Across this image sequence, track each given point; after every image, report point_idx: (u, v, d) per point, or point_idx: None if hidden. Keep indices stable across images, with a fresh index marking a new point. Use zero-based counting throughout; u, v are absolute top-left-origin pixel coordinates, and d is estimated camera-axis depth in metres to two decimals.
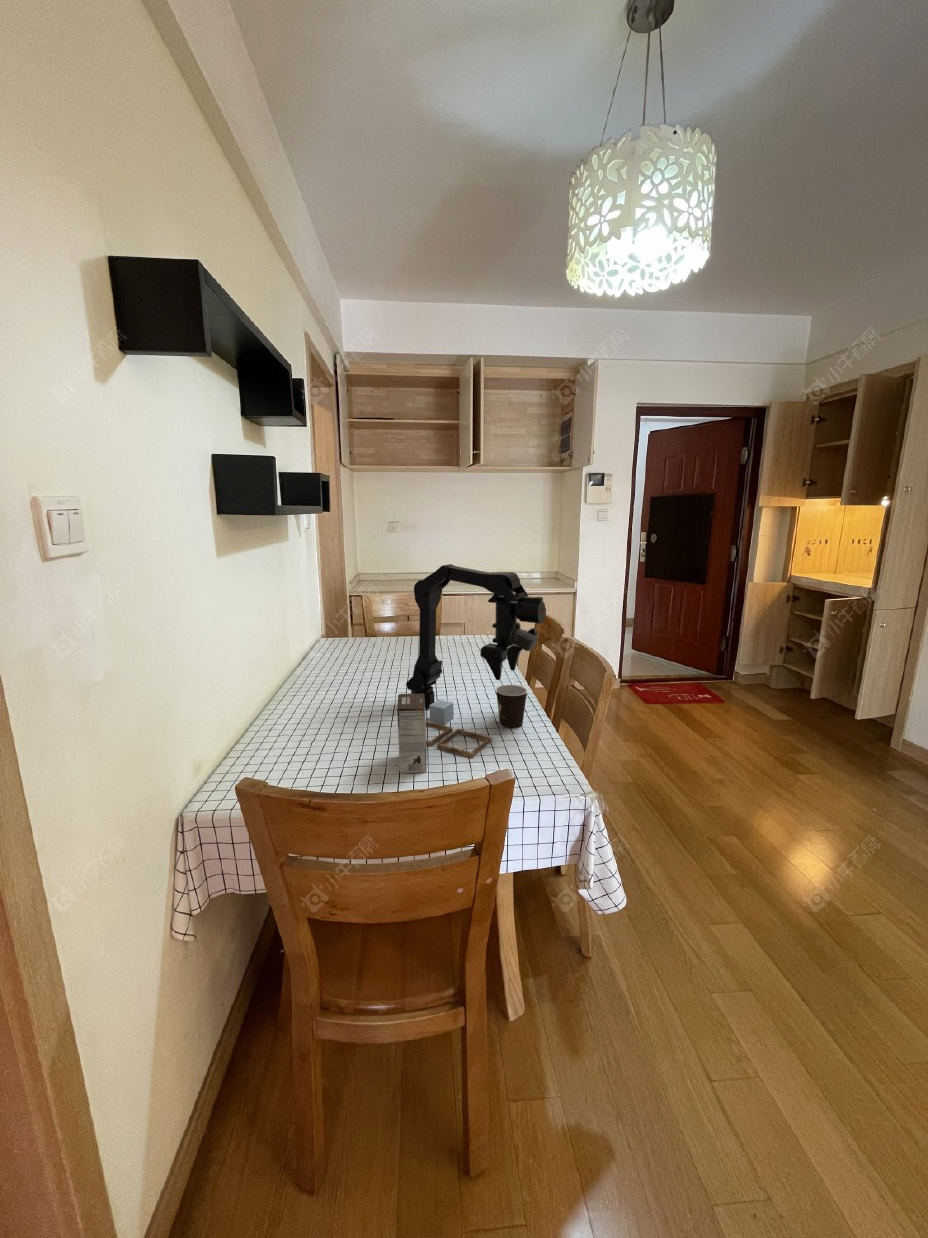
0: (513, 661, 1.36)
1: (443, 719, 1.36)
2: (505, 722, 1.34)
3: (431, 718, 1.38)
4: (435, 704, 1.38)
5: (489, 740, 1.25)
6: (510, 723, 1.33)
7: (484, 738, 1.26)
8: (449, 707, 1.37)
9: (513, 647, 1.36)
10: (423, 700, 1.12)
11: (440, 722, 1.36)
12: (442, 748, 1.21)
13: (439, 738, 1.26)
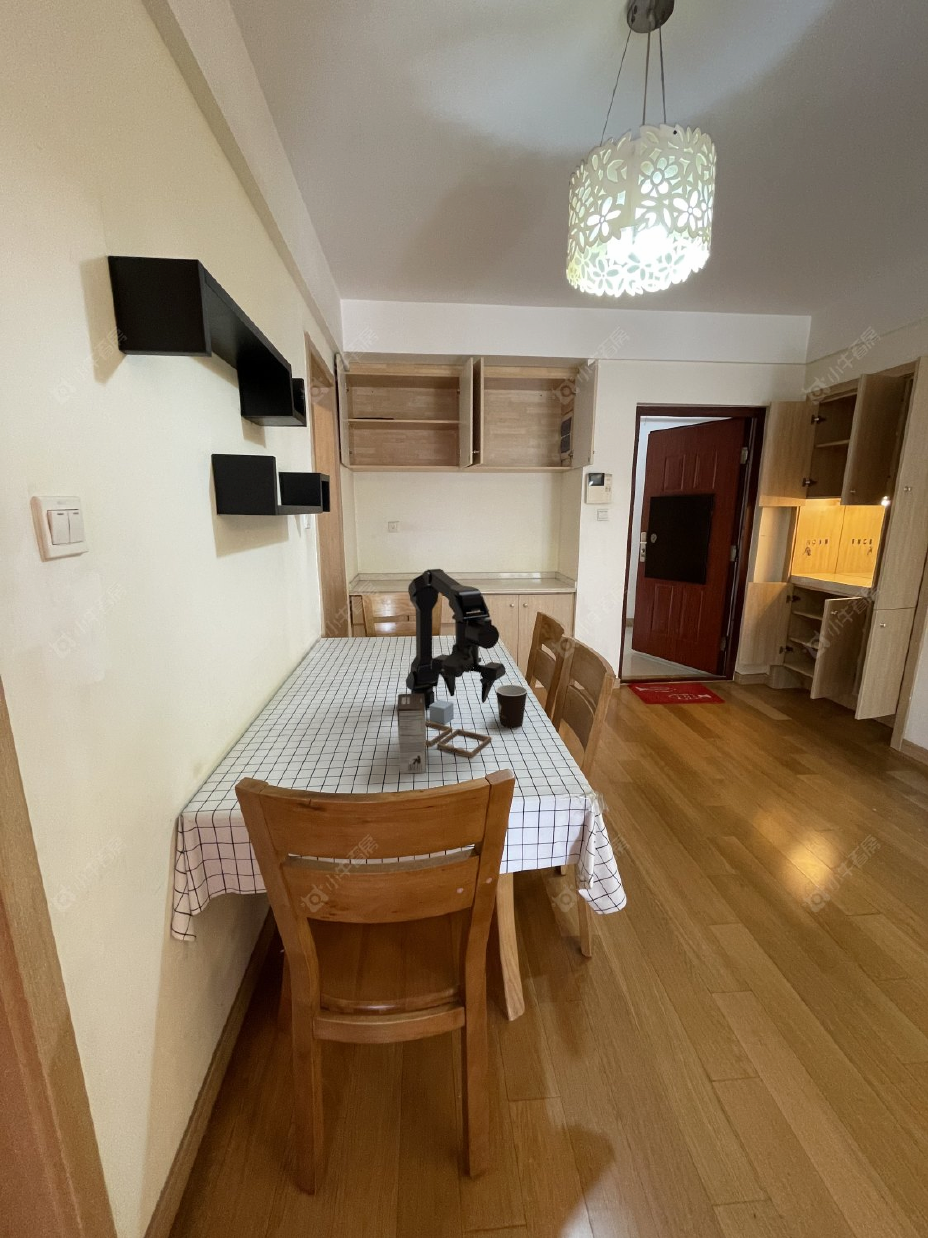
0: None
1: (443, 719, 1.36)
2: (505, 722, 1.34)
3: (431, 718, 1.38)
4: (435, 704, 1.38)
5: (489, 740, 1.25)
6: (510, 723, 1.33)
7: (484, 738, 1.26)
8: (449, 707, 1.37)
9: None
10: (423, 700, 1.12)
11: (440, 722, 1.36)
12: (442, 748, 1.21)
13: (439, 738, 1.26)
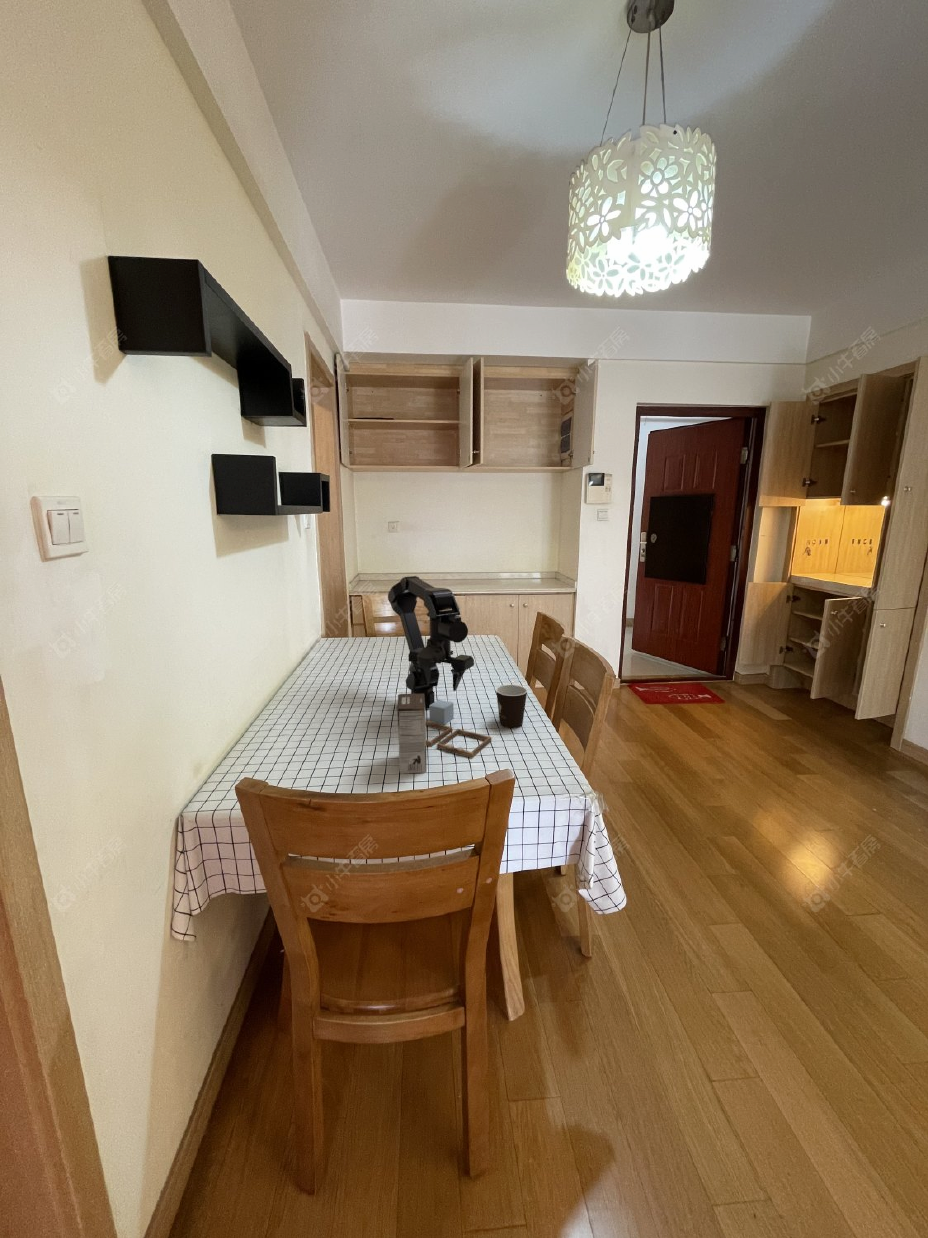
0: None
1: (443, 719, 1.36)
2: (505, 722, 1.34)
3: (431, 718, 1.38)
4: (435, 704, 1.38)
5: (489, 740, 1.25)
6: (510, 723, 1.33)
7: (484, 738, 1.26)
8: (449, 707, 1.37)
9: None
10: (423, 700, 1.12)
11: (440, 722, 1.36)
12: (442, 748, 1.21)
13: (439, 738, 1.26)
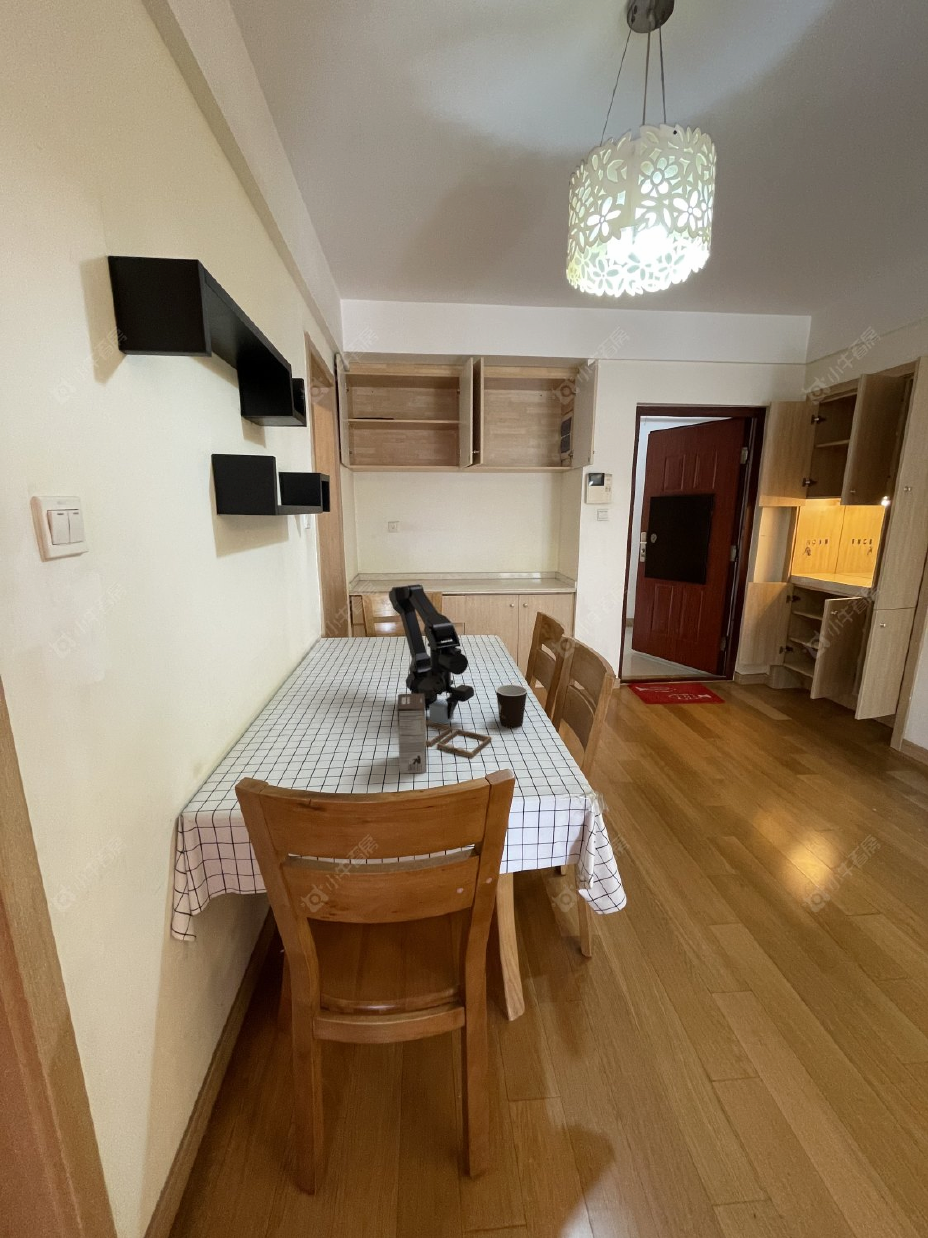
0: None
1: (443, 719, 1.36)
2: (505, 722, 1.34)
3: (431, 718, 1.38)
4: (435, 704, 1.38)
5: (489, 740, 1.25)
6: (510, 723, 1.33)
7: (484, 738, 1.26)
8: None
9: None
10: (423, 700, 1.12)
11: (440, 722, 1.36)
12: (442, 748, 1.21)
13: (439, 738, 1.26)
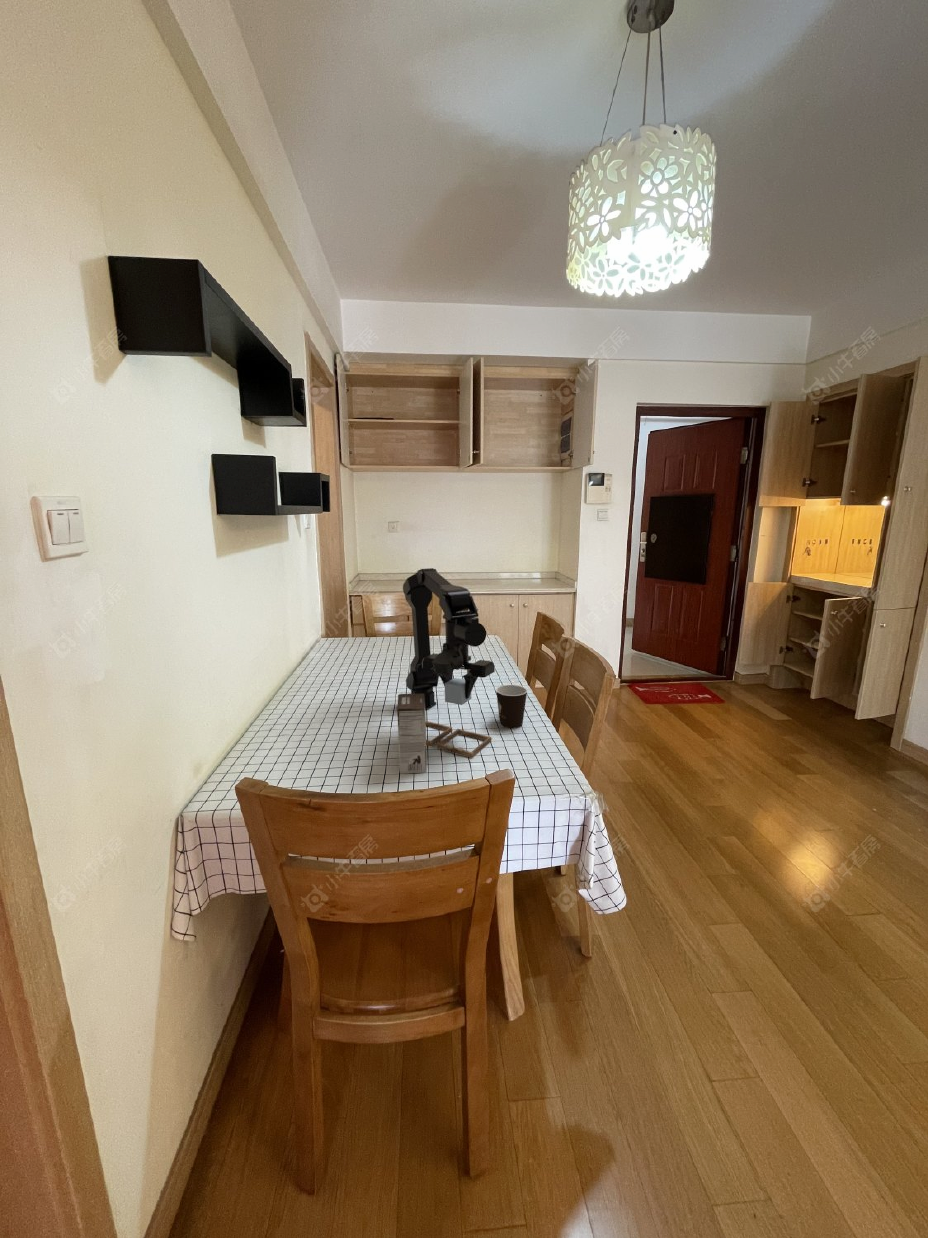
0: None
1: (460, 698, 1.22)
2: (505, 722, 1.34)
3: (447, 698, 1.24)
4: (451, 682, 1.24)
5: (489, 740, 1.25)
6: (510, 723, 1.33)
7: (484, 738, 1.26)
8: None
9: None
10: (423, 700, 1.12)
11: (457, 702, 1.23)
12: (442, 748, 1.21)
13: (439, 738, 1.26)
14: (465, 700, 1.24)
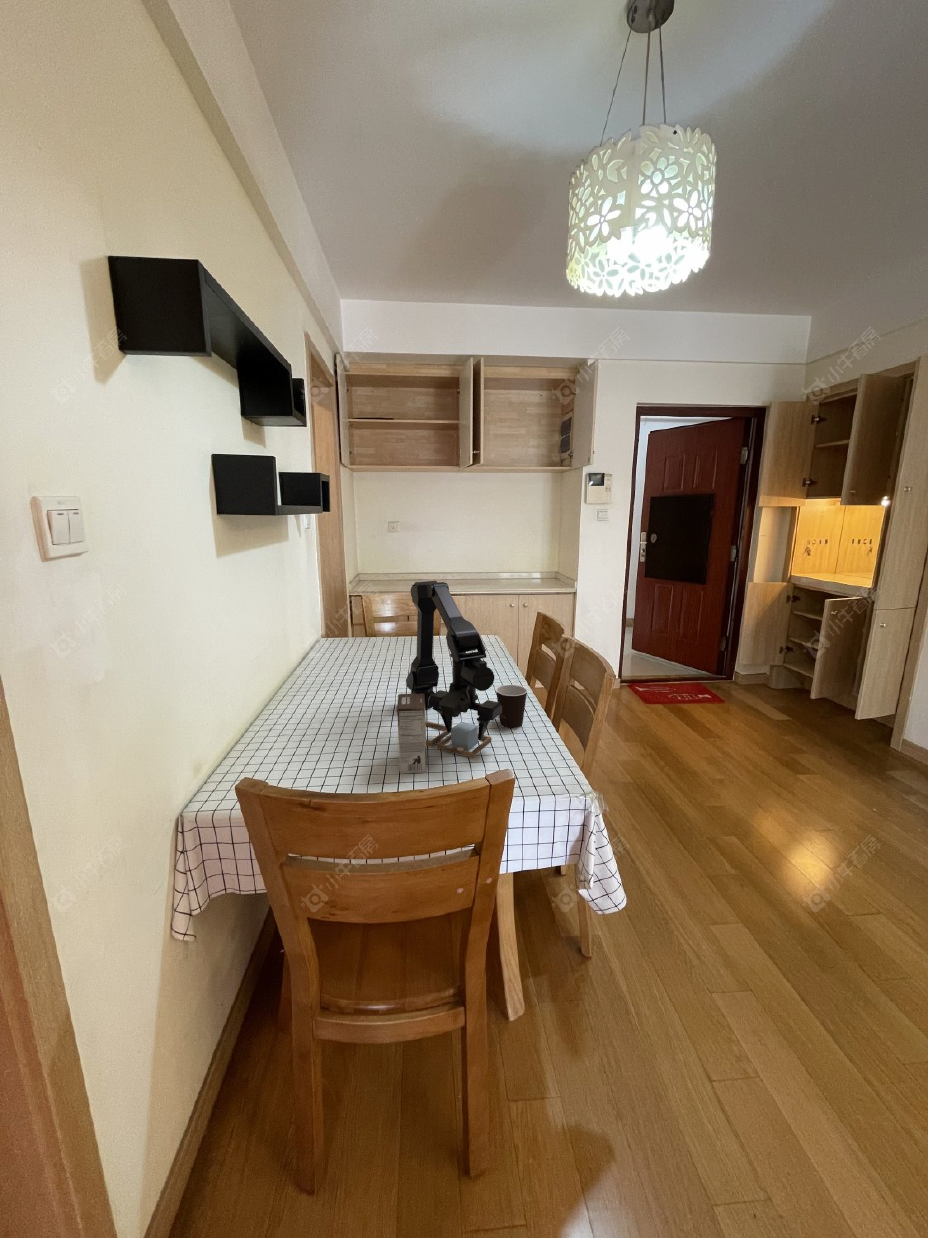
0: None
1: (467, 744, 1.21)
2: (505, 722, 1.34)
3: (453, 743, 1.23)
4: (457, 727, 1.23)
5: (489, 740, 1.25)
6: (510, 723, 1.33)
7: (484, 738, 1.26)
8: (473, 731, 1.22)
9: None
10: (423, 700, 1.12)
11: (463, 748, 1.21)
12: (442, 748, 1.21)
13: (439, 738, 1.26)
14: (471, 746, 1.22)
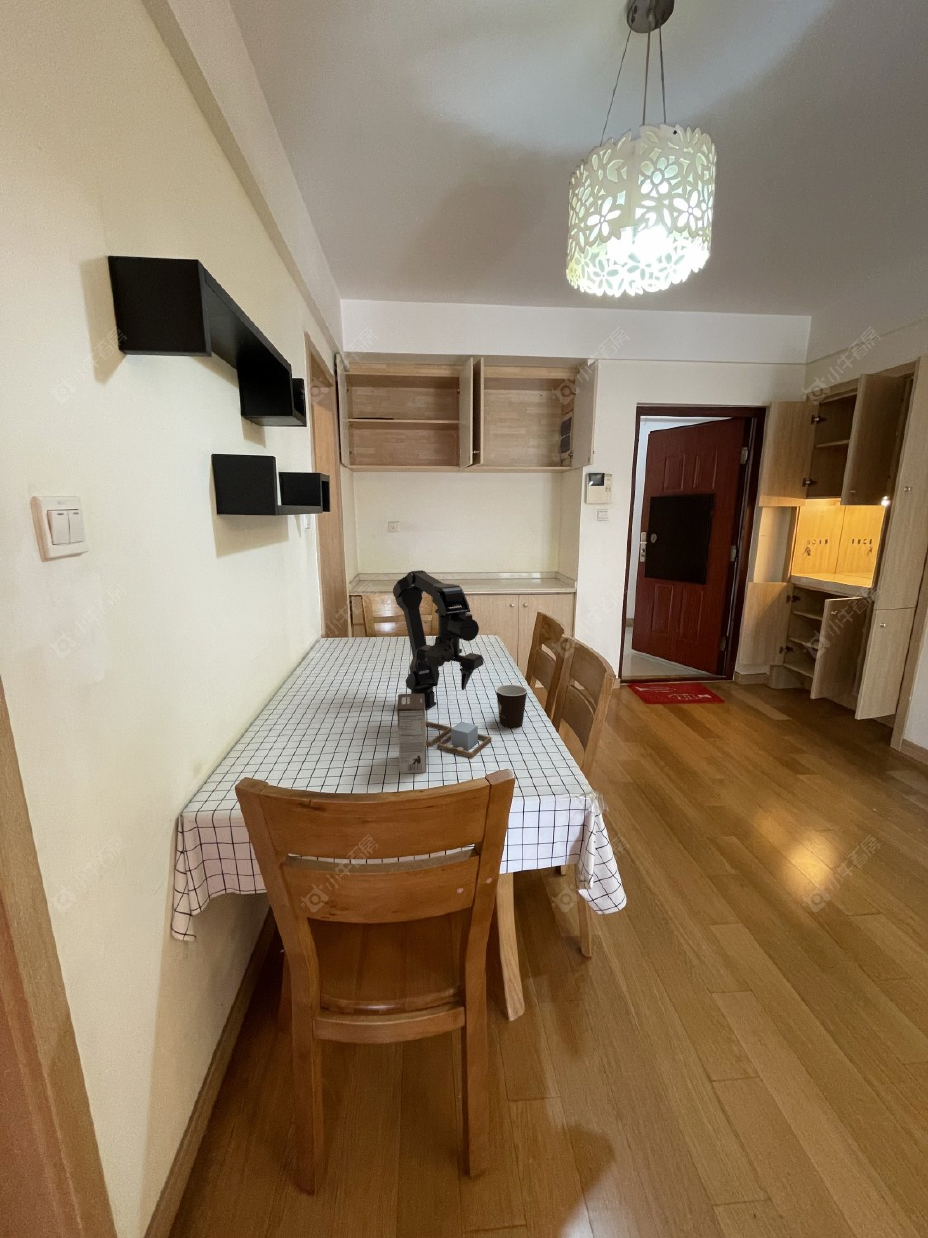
0: None
1: (467, 744, 1.21)
2: (505, 722, 1.34)
3: (453, 743, 1.23)
4: (457, 727, 1.23)
5: (489, 740, 1.25)
6: (510, 723, 1.33)
7: (484, 738, 1.26)
8: (473, 731, 1.22)
9: None
10: (423, 700, 1.12)
11: (463, 748, 1.21)
12: (442, 748, 1.21)
13: (439, 738, 1.26)
14: (471, 746, 1.22)
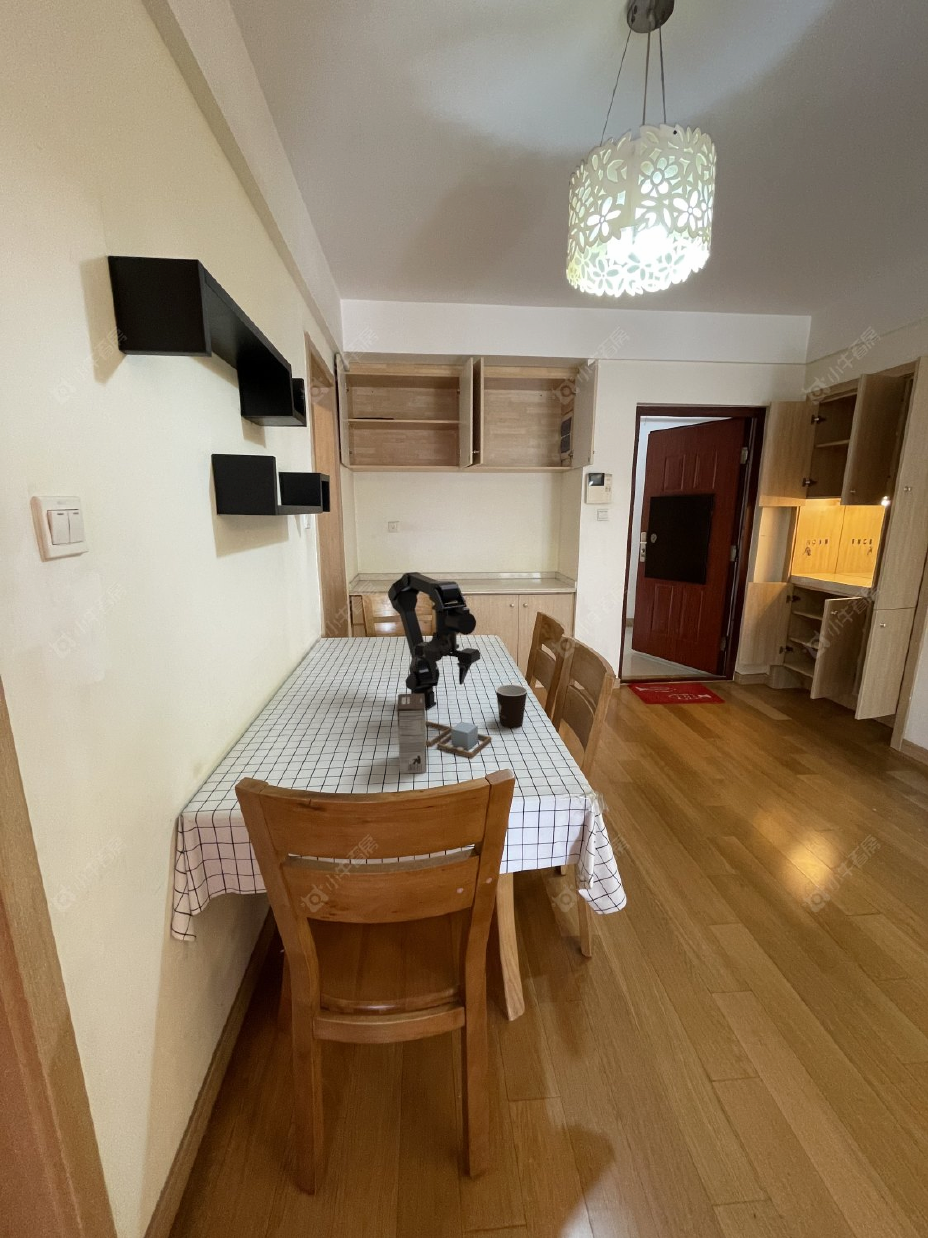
0: None
1: (467, 744, 1.21)
2: (505, 722, 1.34)
3: (453, 743, 1.23)
4: (457, 727, 1.23)
5: (489, 740, 1.25)
6: (510, 723, 1.33)
7: (484, 738, 1.26)
8: (473, 731, 1.22)
9: None
10: (423, 700, 1.12)
11: (463, 748, 1.21)
12: (442, 748, 1.21)
13: (439, 738, 1.26)
14: (471, 746, 1.22)
